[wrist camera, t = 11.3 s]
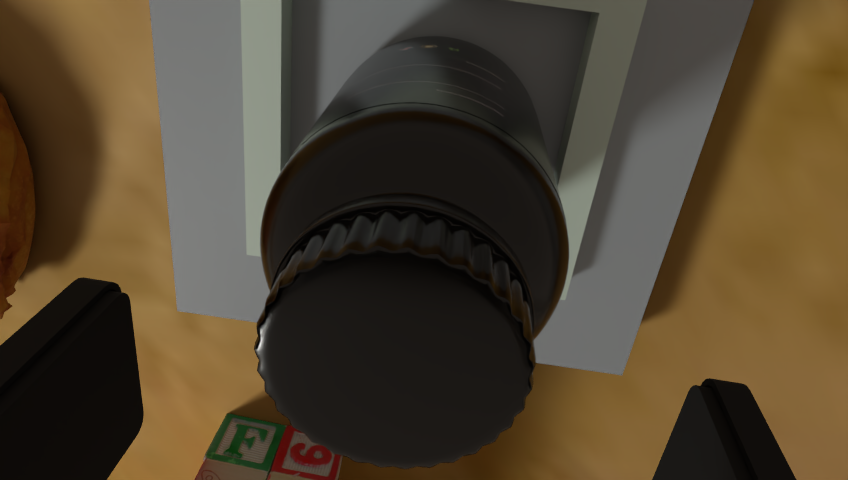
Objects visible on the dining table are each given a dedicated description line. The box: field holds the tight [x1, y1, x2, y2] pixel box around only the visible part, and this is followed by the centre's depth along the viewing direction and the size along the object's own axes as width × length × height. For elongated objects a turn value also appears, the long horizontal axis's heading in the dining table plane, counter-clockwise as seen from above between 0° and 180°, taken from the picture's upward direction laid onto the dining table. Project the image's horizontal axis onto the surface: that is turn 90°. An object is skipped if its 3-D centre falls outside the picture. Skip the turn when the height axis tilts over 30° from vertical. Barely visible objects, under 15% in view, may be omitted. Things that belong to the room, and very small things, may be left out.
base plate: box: [149, 0, 754, 375], centre depth 22 cm, size 18×18×4 cm
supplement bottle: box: [254, 36, 569, 469], centre depth 16 cm, size 7×7×12 cm
